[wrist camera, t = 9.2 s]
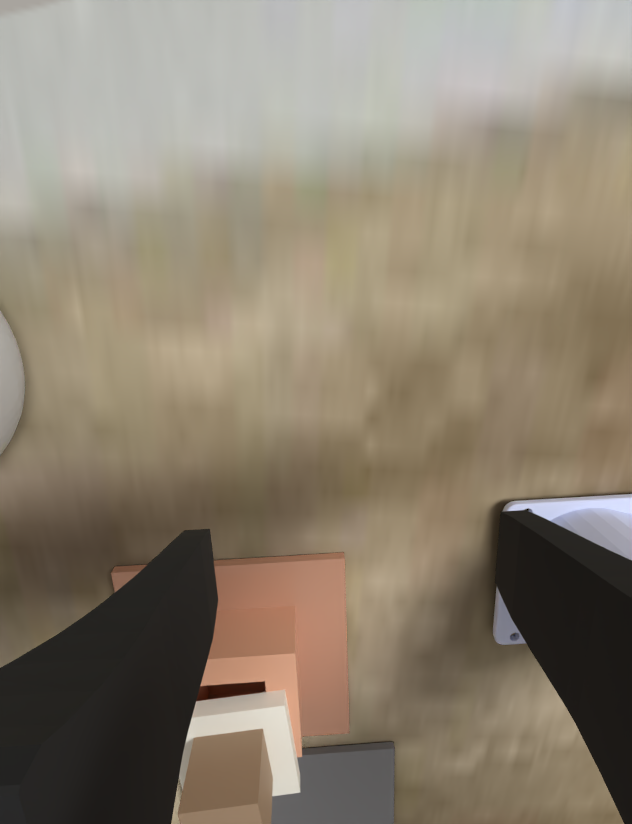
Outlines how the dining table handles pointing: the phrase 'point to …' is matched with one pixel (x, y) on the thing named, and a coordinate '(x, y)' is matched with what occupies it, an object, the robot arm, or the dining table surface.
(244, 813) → the lid
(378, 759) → the mat
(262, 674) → the salmon stepped square block
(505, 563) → the robot arm
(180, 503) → the dining table surface
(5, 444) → the teacup
